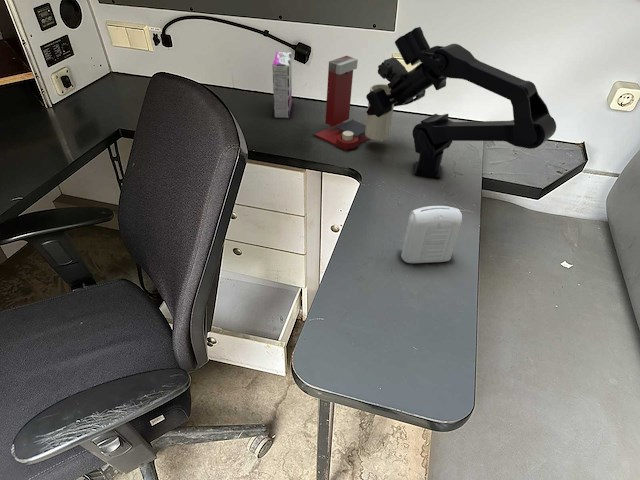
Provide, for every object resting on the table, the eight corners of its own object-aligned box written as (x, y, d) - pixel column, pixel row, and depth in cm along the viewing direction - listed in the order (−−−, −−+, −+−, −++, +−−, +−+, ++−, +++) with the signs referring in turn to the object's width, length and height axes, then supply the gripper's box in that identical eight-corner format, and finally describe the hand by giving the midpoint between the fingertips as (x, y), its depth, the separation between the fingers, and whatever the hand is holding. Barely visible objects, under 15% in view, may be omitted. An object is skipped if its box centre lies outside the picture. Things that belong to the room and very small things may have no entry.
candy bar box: (276, 103, 152) (275, 51, 142) (291, 104, 152) (292, 51, 142) (273, 118, 144) (271, 63, 133) (289, 119, 144) (289, 64, 133)
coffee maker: (376, 138, 136) (377, 130, 135) (348, 153, 129) (349, 145, 127) (341, 123, 143) (341, 116, 141) (313, 136, 135) (313, 128, 134)
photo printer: (446, 249, 99) (459, 200, 91) (453, 262, 96) (468, 213, 88) (398, 251, 97) (408, 202, 90) (404, 265, 94) (414, 215, 86)
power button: (355, 139, 131) (355, 133, 130) (348, 142, 129) (348, 136, 128) (346, 135, 132) (347, 129, 131) (339, 138, 131) (340, 133, 129)
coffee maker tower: (372, 129, 135) (380, 66, 124) (356, 137, 131) (362, 73, 120) (341, 116, 141) (346, 55, 130) (325, 123, 137) (328, 61, 126)
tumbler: (393, 139, 128) (400, 92, 120) (369, 141, 127) (375, 94, 119) (383, 128, 133) (390, 83, 125) (361, 130, 132) (366, 84, 123)
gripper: (423, 43, 118) (383, 74, 131) (377, 58, 108) (338, 91, 120) (444, 83, 119) (402, 110, 132) (399, 102, 109) (358, 130, 121)
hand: (376, 109), depth 126 cm, fingers closed on tumbler, 7 cm apart
